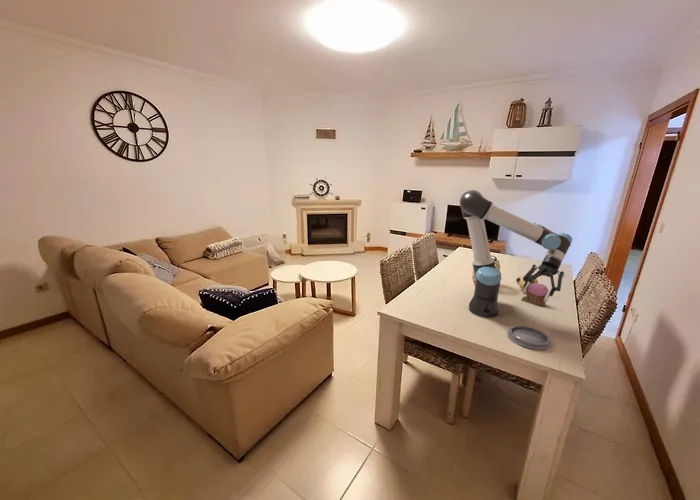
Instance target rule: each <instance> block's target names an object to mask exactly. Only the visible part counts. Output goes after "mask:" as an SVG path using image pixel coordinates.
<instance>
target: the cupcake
mask: <svg viewBox="0 0 700 500" xmlns="http://www.w3.org/2000/svg"><path fill="white" fill-rule="evenodd" d="M527 291H528V296H529V300H530V301H531V302H533V303H534V304H542V303H543V301H545V300H544V299H545V297H546V295H547V293H548V291H549V289H548V286H547V285H545V284H542V283H539V282H538V283H534V284H531V285H530V286H529V287H528V289H527ZM534 304H533V305H534Z"/></svg>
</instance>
